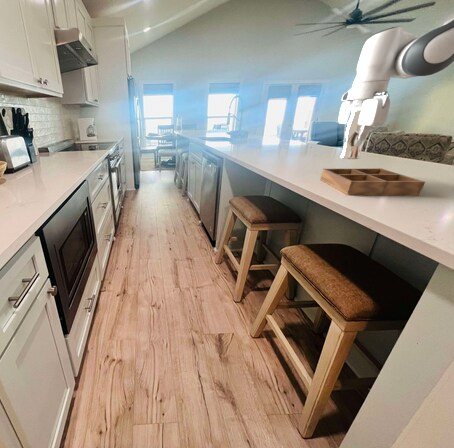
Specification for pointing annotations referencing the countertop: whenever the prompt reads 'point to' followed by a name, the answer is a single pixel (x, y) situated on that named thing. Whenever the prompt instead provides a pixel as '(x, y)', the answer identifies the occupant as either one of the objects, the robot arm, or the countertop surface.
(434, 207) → the countertop surface
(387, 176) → the wooden compartment tray
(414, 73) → the robot arm
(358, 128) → the beer glass
